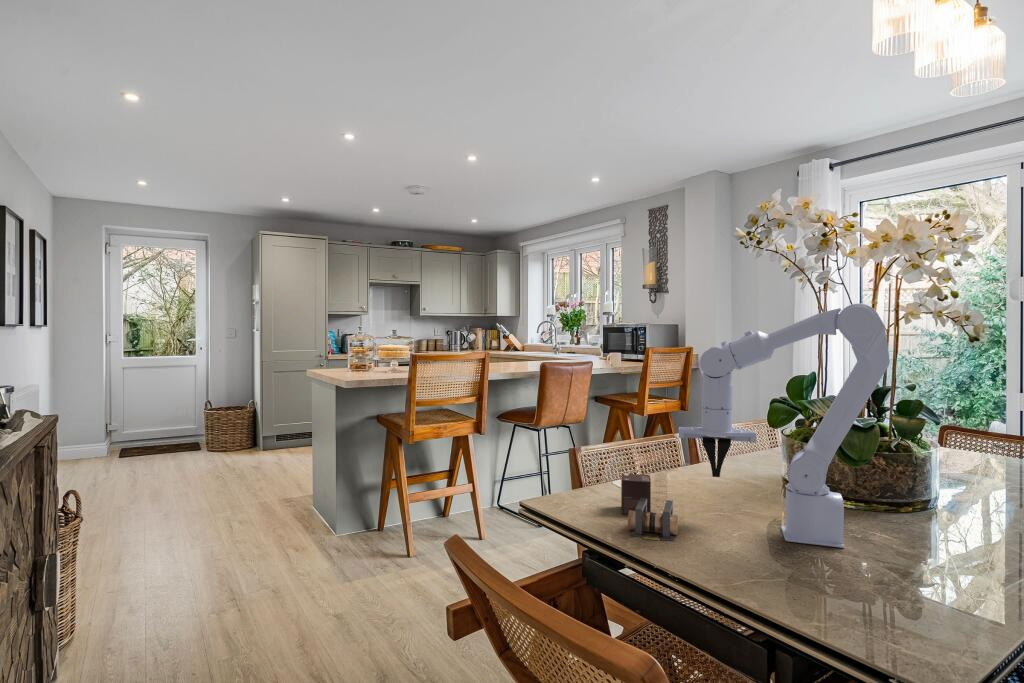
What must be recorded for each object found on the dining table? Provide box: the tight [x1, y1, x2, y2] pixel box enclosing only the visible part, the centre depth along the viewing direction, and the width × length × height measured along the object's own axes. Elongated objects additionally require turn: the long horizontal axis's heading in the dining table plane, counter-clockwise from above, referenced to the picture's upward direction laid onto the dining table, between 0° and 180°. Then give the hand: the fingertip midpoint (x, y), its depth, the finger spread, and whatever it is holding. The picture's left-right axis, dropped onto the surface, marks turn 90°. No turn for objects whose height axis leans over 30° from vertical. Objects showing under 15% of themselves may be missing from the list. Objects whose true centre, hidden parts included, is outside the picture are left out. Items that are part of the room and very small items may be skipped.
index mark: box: [642, 535, 661, 542], centre depth 107 cm, size 3×1×1 cm, turn 71°
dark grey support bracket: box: [656, 499, 676, 542], centre depth 111 cm, size 3×9×5 cm, turn 160°
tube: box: [627, 510, 679, 536], centre depth 111 cm, size 9×4×4 cm, turn 71°
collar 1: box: [629, 498, 648, 538], centre depth 113 cm, size 3×9×5 cm, turn 161°
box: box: [620, 473, 652, 516], centre depth 124 cm, size 6×6×7 cm
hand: (716, 475), depth 116 cm, fingers closed
